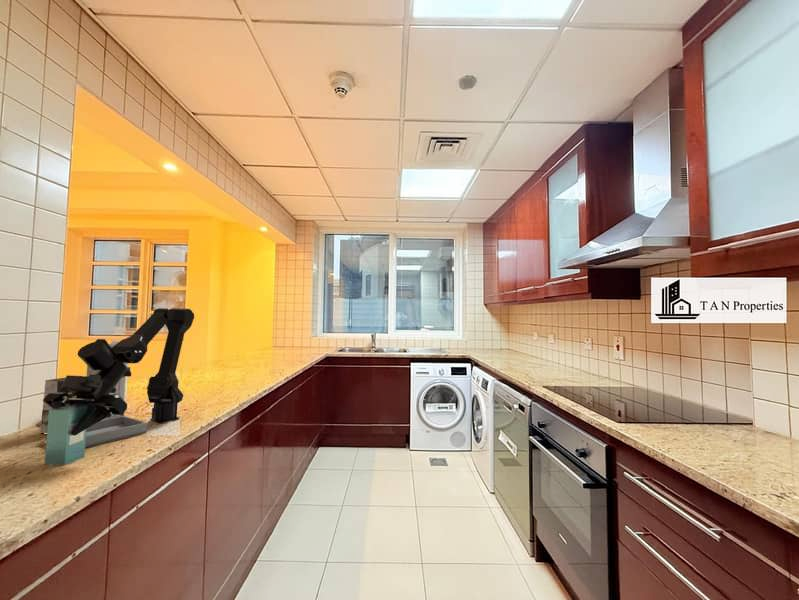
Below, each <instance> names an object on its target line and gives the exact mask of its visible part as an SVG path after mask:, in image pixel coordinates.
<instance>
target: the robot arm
mask: <svg viewBox="0 0 799 600" xmlns="http://www.w3.org/2000/svg"><path fill="white" fill-rule="evenodd" d="M194 319H195V313H194V312H193V311H192V310H191V308H179V307H178V308H175V307H174V308H165V307H163V308H162V307H158V308H155V309H154V310H153V313H152V314H151V315H150V317H148V319H146V320H145V321H144V323H143V324H141V326H140V327H139V328H138V329H137V330H136V331H135V332H134V333H133V334H132V335H130V336H128V337H126V338H123V339H121V340H119V341H120V342H118V343H117V344H116V345H114V346H113V347H112V348H111V347H110V346H109V345H108V344H109V342H108V341H107V340H106V339H105V338H97V339H96V340H95V341H93V342H90V343H87V344H86V345H83V346H82V347H80V349H78V351H77V356H78V358H79V359H81V360H82V362H84V364H85V365H86V366H87V365H88V366H89V367H90V368H91V369H92V370H99V371H98V372H97V373H96V374H90V375H89V376H88V377H86V376H83V375H66V376H65V377H64V378H65V380H64V382H63V384H62V386H61V388H62V389H69V390H73V392H72V394H73V395H76V396H77V397H76V398H72V397H70V396H69V395H68V394H67V393H60V392H53V393H49V394H48V395H47V396H46V397H45V398H44V397H43V399H42V401H44V402H45V403H46V404H48V405H49V406H50V407H51V408H53V409H54V408H58V407H62V406H66V405H88V406H87V412H86V413H85V415H84V416H83V417H82V419H81V420H80V421H79V423H78V424H77V425H76V427H75V428H74V430H73V431H72V433H71V434H72V435H74V436H75V435H77V434H79V433H80V432H82V431H84V430H85V429H87V428H89V427H90V426H92V425H94V424H95V423H97V422H99V421H101V420H103V419H105V418H106V417H110V416H111V414H110V413H111V412H112V414H114V415H123V413H124V414H125V412H126V410H127V409H128V403H127V402H125V401H124V400H123V399H122V398H121V397H120V396H119V395H110V393H115V392H116V389H115V388H114V387H115V386H116V385H117V383H118V382H119V381H120V380H121V378H122V377H123V376H127V378H128V377H129V378H130V377H132V372H131V367H130V366H128V367H126V366H125V365H124V363H128V364H138V363H140V362H141V361H142V360H143V358H144V357H145V355H146V353H147V352H148V346H149V343H151V341H152V340H153V339H154V338H155V337H156V336H157V334H158V333H160V331H161V330H162V329H163V328H164V327H165V326H166V328H167V336H166V339H165V344H164V348H163V353H162V355H161V360H160V364H159V370H158V372H157V373H156V374H155V375H154V376H150V377H149V380H148V385H147V387H146V394H147V398H148V401H149V403H150V404H153V407H152V408H151V416H150V417H151V418H150V420H149V421H150V422H154V423H156V424H162V423H168V422H171V421H175V420H179V419H180V417H179V416H178V404H179V403H181V402H182V401H183V398H184V394H183V392H182V391H181V389H180V388H179V379H178V376H177V374H176V370H177V367H178V363H179V358H180V355H181V354H180V353H181V351H182V347H183V346H182V345H183V341H184V337H185V334H186V332H187V331H188V330H189V329H191V327H192V325H193V322H194Z"/></svg>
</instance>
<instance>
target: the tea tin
mask: <svg viewBox="0 0 799 600" xmlns="http://www.w3.org/2000/svg"><path fill="white" fill-rule="evenodd" d="M87 406H88V405H66V406H62V407H58V408H54V409H50V410H49V417H48V429H47V435H46V442H45V455H44V465H45V466H46V465H49V466H68V465H69V464H71V463H73V462H77V461H78V459H79V460H81V459H83V458H85V454H86V453H85V451H86V450H85V449H86V448H85V441H86V429H85V430H84V431H82V432H80V433H79V434H77V435H75V436H74V435H72V434H71V433H72V431H73V430H74V428H75V427H76V425H77V424H78V423H79V421H80V420H81V419H82V417H83V416H84V415H85V413H86V412H87ZM80 458H81V459H80Z"/></svg>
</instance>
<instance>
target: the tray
mask: <svg viewBox="0 0 799 600" xmlns="http://www.w3.org/2000/svg"><path fill="white" fill-rule="evenodd" d="M147 430H148V422H147V421H146V422H145V421H143V420H139V419H137V418H134V417H130V416H127V415H124V416H120V417H115V418H110V419H105V420H101V421H99V422H97V423H95V424H94V425H92V426H90V427H89V428H87V429H86V441H85V449H87V448H91V447H94V446H95V447H96V446H98V445H103V444H107V443H110V442H115V441H119V440H122V439H123V440H124V439H127V438H130V437H135V436H139V435H143V434H147V432H148V431H147ZM86 447H87V448H86Z"/></svg>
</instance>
